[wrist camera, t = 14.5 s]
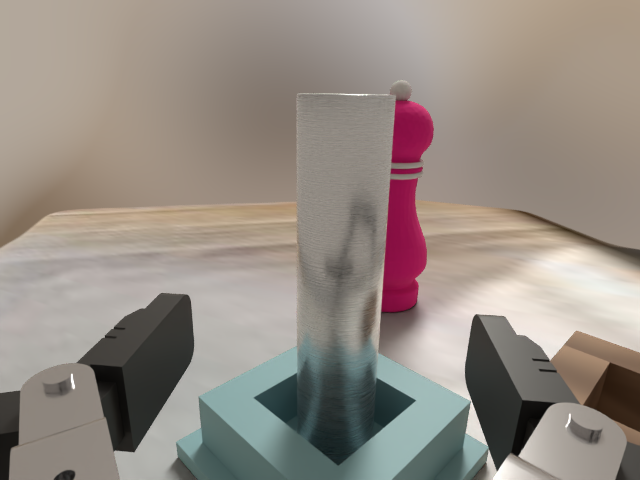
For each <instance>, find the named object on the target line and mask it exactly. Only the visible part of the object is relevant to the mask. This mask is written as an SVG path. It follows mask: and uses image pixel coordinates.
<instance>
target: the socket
mask: <svg viewBox="0 0 640 480" xmlns="http://www.w3.org/2000/svg"><path fill="white" fill-rule="evenodd" d="M470 403H471V401H469V400H467V399H465V398H463V397H461V396H459V395H457V394H456V393H454V392H452V391H450V390H448V389H446V388H444V387H442V386H440V385H438V384H437V383H435V382H433V381H431V380H429V379H427V378H425V377H423V376H421V375H419V374H418V373H416V372H414V371H412V370H410V369H408V368H406V367H404V366H402V365H400V364H399V363H397V362H395V361H393V360H391V359H389V358H387V357H385V356H383V355H382V354H380V353H378V363H377V378H376V393H375V407H374V422H373V436H372V438H371V439H370V440H369V441H368V442H366V443H365V444H364V445H363V446H362V447H360V448H359V449H358V450H357V451H356V452H354V453H353V454H352V455H351V456H350V457H349V458H347V459H346V460H345V461H344V462H343V463H341V464H340V465H339V466H338V465H336V464H335V463H334V462H333V461H332V460H330V459H329V458H328V457H327V456H325V455H324V454H323V453H322V452H320V451H319V450H318V449H317V448H315V447H314V446H313V445H312V444H310V443H309V442H308V441H307V440H305V439H304V438H303V437H302V436H300V435H299V434H298V433H297V346H296V347H294V348H292V349H290V350H288V351H286V352H284V353H282V354H280V355H278V356H276V357H275V358H273V359H271V360H269V361H267V362H265V363H263V364H261V365H259V366H257V367H255V368H253V369H251V370H249V371H247V372H245V373H244V374H242V375H240V376H238V377H236V378H234V379H232V380H230V381H228V382H226V383H224V384H222V385H220V386H218V387H216V388H214V389H213V390H211V391H209V392H207V393H205V394H203V395H201V396H199V408H200V419H201V428H200V429H198V430H196V431H195V432H193V433H191V434H189V435H188V436H186V437H184V438H182V439H181V440H179V441H177V442H176V445H177V454H178V457H179V458H180V460H181V461H182V462H183V463H184V464H185V465H186V467H187V468H188V469H189V470H190V471H191V473H192V474H193V475H194V476H195V477H196V478H197V480H472V479H473V478H474V476H475V475H476V474H477V473H478V471H479V470H480V469H481V468H482V466H483V465H484V464H485V463H486V461H487V455H488V450H489V447H488V446H486V445H484V444H483V443H481V442H479V441H478V440H476V439H474V438H472V437H471V436H469V435H467V434H466V427H467V421H468V415H469V409H470Z"/></svg>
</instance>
